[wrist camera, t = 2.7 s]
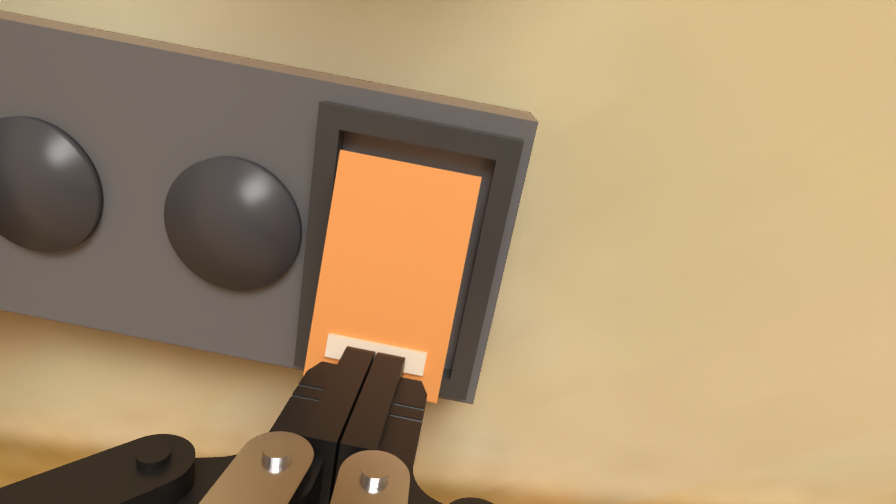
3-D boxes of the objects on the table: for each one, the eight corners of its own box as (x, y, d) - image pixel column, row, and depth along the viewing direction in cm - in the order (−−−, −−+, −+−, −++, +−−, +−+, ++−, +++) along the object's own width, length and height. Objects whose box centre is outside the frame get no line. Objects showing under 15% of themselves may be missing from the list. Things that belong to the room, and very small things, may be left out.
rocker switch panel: (-140, -17, 17) (-293, -36, 14) (530, 112, 17) (539, 124, 14) (-96, 243, 20) (-212, 278, 17) (475, 356, 20) (472, 415, 17)
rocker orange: (350, 152, 15) (338, 149, 13) (480, 177, 15) (481, 177, 13) (315, 361, 15) (301, 378, 14) (439, 385, 15) (436, 405, 14)
